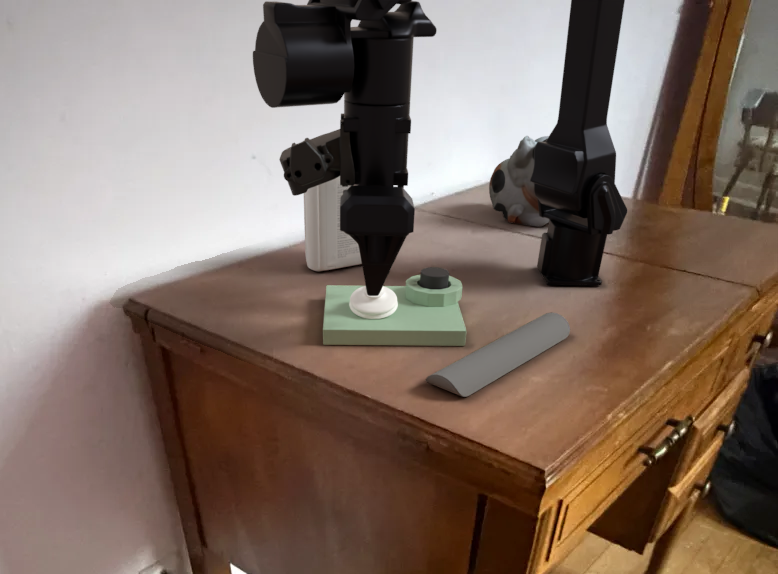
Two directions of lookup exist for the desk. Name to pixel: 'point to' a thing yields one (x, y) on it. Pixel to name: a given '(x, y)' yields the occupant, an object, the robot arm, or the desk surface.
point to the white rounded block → (327, 229)
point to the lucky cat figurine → (517, 186)
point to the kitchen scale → (398, 317)
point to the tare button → (434, 278)
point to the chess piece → (373, 303)
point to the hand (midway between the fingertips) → (372, 282)
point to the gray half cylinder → (501, 355)
